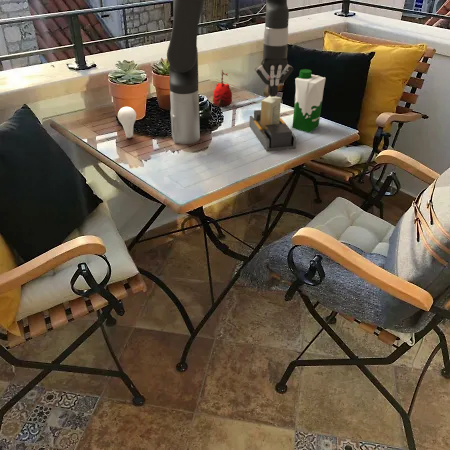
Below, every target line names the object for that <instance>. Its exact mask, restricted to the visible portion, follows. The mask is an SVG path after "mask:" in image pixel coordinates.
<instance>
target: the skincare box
mask: <svg viewBox="0 0 450 450" xmlns="http://www.w3.org/2000/svg"><path fill="white" fill-rule="evenodd" d="M281 102H282V98H281V97H280V96H277V95H276V96H275V97H271V96H270V95H268V96H267V97H264V99H262V100H261V102H260V103H261V104H260V107H261V108H260V110H261V124H260V127H261V128H262V130H263V132H264V130H265V125H272V124H279V121H280V118H281Z"/></svg>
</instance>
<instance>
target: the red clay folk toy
mask: <svg viewBox="0 0 450 450" xmlns="http://www.w3.org/2000/svg"><path fill="white" fill-rule="evenodd" d="M220 71H221V77H220V79H221V82H218V83H217V84H216V85H215V86H216V87H214V90H213V94H212V95H213V97H212V102H213V104H214V106H216V108H217V107H218V108H227V107H230V106H231V105H232V102H233V93H232V90H231V88H230V85H229V84H228V83H224V81H223V80H224V78H223V77H224V75H225V76H227V77H228V73H224V70H223V69H221V70H220Z"/></svg>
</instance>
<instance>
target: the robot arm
mask: <svg viewBox="0 0 450 450" xmlns="http://www.w3.org/2000/svg"><path fill="white" fill-rule="evenodd" d="M204 2H205V0H173V4H172V5H173V6H172V7H173V19H172V20H173V21H172V28H171V29H172V30H171V32H170V33H171V34H170V39H169V44H168V47H167V52H166V59H167V63H168V66H169V67H168V68H169V71H168V72H169V78H168V79H169V82H168V83H169V98H170V110H169V112H170V113H169V114H170V122H171V125H170V126H171V127H170V129H171V137H172V138H171V139H172V140H173V143H174V144H181V145H190V144H195V143H197V142H199V141H200V138H201V135H200V131H201V130H200V129H201V128H200V103H199V102H200V100H199V96H200V95H199V94H200V93H199V60H198V59H199V54H198V47H197V45H198V41H197V40H198V29H199V22H200V19H201V15H202V12H203V7H204ZM287 2H288V0H265V18H264V19H265V20H264V22H265V23H264V32H263V44H262V45H263V51H262V61H261V63H260V64H261V65H259V66H258V67H255V68H254V71H255V72H256V74H257V75H258V77H259V78H260V79H261V81H262V82H263V83H264V84H265V85H268V86H267V90H268V91H267V93H268V96H271V97H275V96H276V97H277V95H278V92H279V91H278V90H279V89H278V88H279V85H280V84H284V83H285V81H286V80H287V79H288V78H289V76H290V75H291V74H292V73H293V71H294V67H293V66H292V65H290V64H288V63H289V62H288V59H287V58H288V47H289V46H288V45H289V44H288V43H289V19H290V16H289V15H290V13H289V12H290V11H289V7H288V3H287ZM264 71H265V73H266V74H267V78H266V76H265V75H264Z"/></svg>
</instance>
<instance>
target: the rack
mask: <svg viewBox="0 0 450 450" xmlns="http://www.w3.org/2000/svg"><path fill="white" fill-rule="evenodd" d="M260 124H261V109H256V110H255V109H254V110H253V116H252V115H250V116H249V124H248V125H249V128H250V129H251V131H252V132H253V134H254V136H255V137H256V138H257V141H259V142H260V145H261V146H262V147H263V148H264V150H265V151H266V152H275V151H287V150H295V149H296V147H297V146H296V144H297V136H296V135H295V134H294V132H293V131H292V130H291V129H290V128H289V126H288V124H286V122H285V121H284V120H283V118H281V117H280V121H279V124H272V125H265V130H264V132H263V130H262V128H261V127H260Z"/></svg>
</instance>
